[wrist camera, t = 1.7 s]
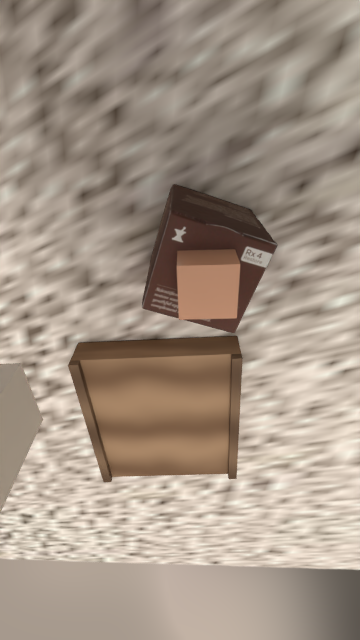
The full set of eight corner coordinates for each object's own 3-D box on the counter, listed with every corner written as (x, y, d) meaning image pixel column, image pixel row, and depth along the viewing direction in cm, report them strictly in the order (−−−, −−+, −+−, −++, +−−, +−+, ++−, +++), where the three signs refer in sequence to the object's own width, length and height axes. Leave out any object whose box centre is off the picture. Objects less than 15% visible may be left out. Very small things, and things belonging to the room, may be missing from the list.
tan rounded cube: (177, 250, 18) (176, 265, 16) (234, 249, 17) (240, 264, 16) (179, 301, 19) (178, 319, 17) (232, 299, 19) (236, 318, 17)
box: (149, 260, 26) (137, 309, 19) (172, 181, 23) (168, 207, 16) (223, 283, 27) (235, 336, 20) (255, 209, 24) (280, 245, 17)
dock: (78, 342, 30) (68, 365, 27) (237, 336, 29) (242, 358, 26) (109, 456, 38) (103, 482, 36) (232, 452, 38) (236, 478, 35)
